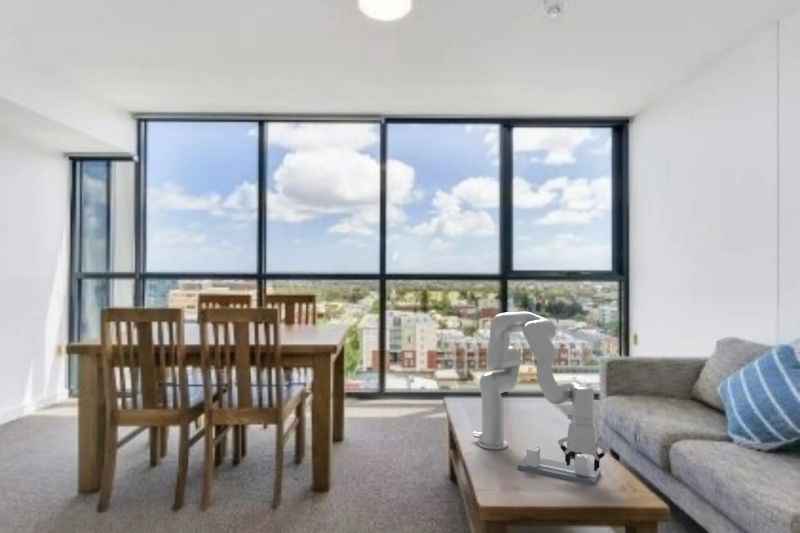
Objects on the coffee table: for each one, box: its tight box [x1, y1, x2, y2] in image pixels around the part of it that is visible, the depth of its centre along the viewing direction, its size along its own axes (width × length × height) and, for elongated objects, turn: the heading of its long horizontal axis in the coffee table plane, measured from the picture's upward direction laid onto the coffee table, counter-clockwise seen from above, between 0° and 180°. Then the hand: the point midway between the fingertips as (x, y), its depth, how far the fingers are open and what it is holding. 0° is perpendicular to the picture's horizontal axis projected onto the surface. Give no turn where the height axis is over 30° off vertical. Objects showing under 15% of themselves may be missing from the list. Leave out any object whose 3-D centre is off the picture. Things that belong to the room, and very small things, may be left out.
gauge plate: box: [517, 444, 602, 486], centre depth 195 cm, size 28×12×8 cm, turn 59°
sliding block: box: [574, 453, 590, 476], centre depth 190 cm, size 4×7×6 cm, turn 149°
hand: (582, 467), depth 189 cm, fingers open, 9 cm apart
